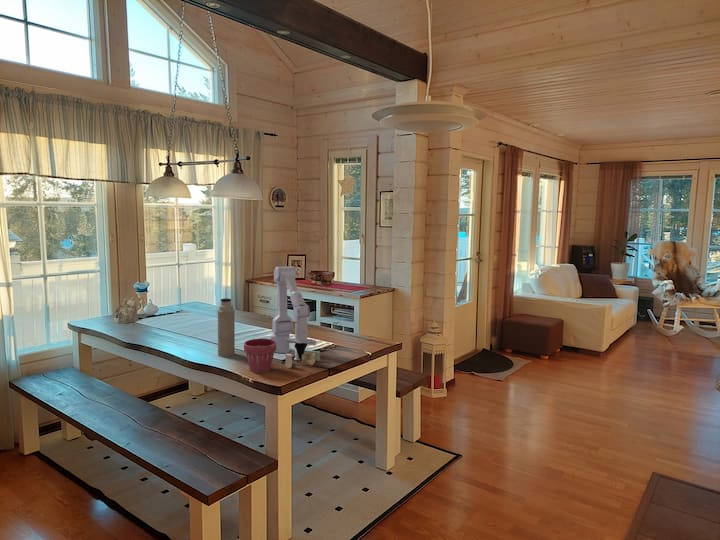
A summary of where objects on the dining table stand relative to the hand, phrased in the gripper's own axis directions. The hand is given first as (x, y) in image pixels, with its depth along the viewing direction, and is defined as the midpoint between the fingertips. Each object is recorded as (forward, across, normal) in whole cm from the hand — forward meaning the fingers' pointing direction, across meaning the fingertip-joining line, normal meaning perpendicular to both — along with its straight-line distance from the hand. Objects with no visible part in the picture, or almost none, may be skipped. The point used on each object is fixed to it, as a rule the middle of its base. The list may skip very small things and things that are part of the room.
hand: (300, 358), depth 235 cm
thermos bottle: (+2, -39, +2) cm, 39 cm away
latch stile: (+2, -4, -5) cm, 7 cm away
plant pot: (+2, -14, -15) cm, 21 cm away
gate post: (+2, -3, +5) cm, 6 cm away
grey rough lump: (+2, -133, +51) cm, 143 cm away
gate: (+2, +3, +5) cm, 6 cm away
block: (+2, +4, 0) cm, 4 cm away
